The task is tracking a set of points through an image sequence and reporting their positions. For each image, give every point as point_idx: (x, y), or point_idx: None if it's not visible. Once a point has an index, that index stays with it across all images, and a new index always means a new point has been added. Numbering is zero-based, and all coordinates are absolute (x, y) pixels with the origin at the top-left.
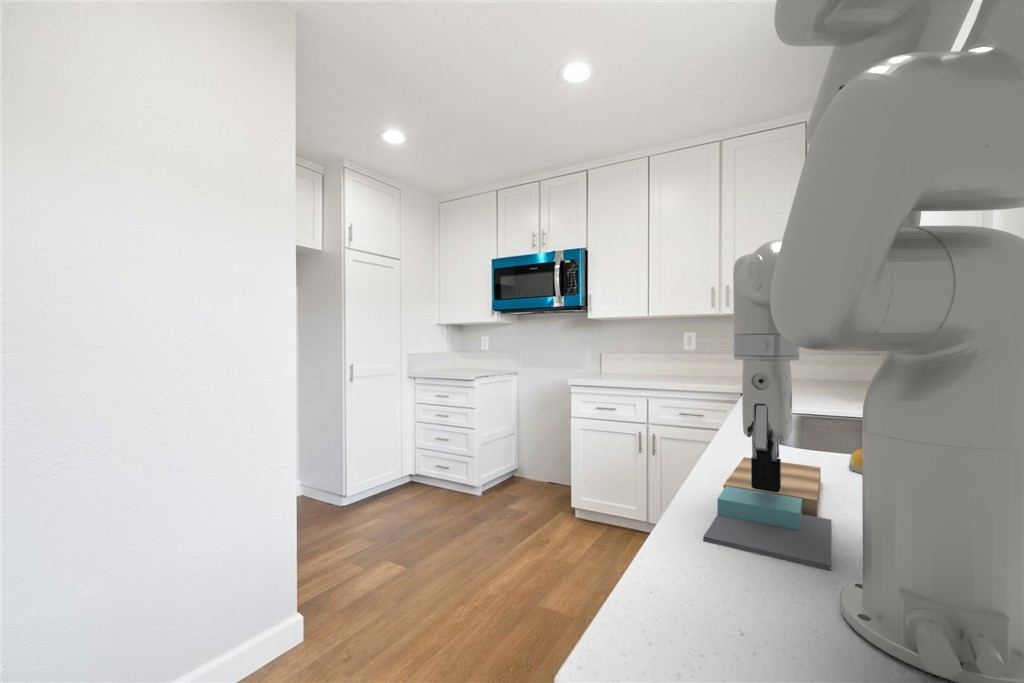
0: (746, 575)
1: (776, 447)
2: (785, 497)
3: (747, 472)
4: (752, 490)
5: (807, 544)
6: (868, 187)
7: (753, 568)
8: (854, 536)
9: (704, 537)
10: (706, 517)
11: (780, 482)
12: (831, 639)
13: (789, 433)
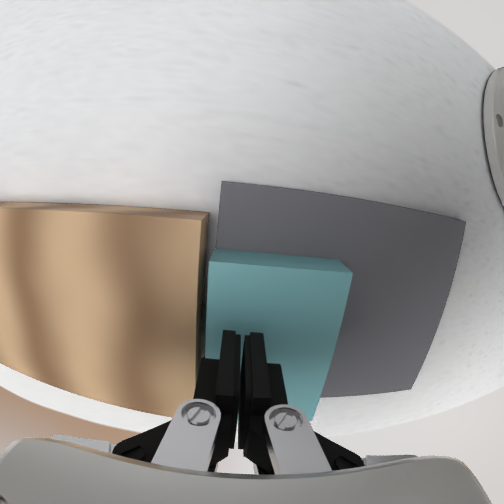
0: (483, 319)
1: (306, 454)
2: (223, 303)
3: (58, 367)
4: (195, 371)
5: (407, 248)
6: None
7: (470, 315)
8: (289, 141)
9: (410, 387)
10: None
11: (228, 339)
12: None
13: (373, 488)
